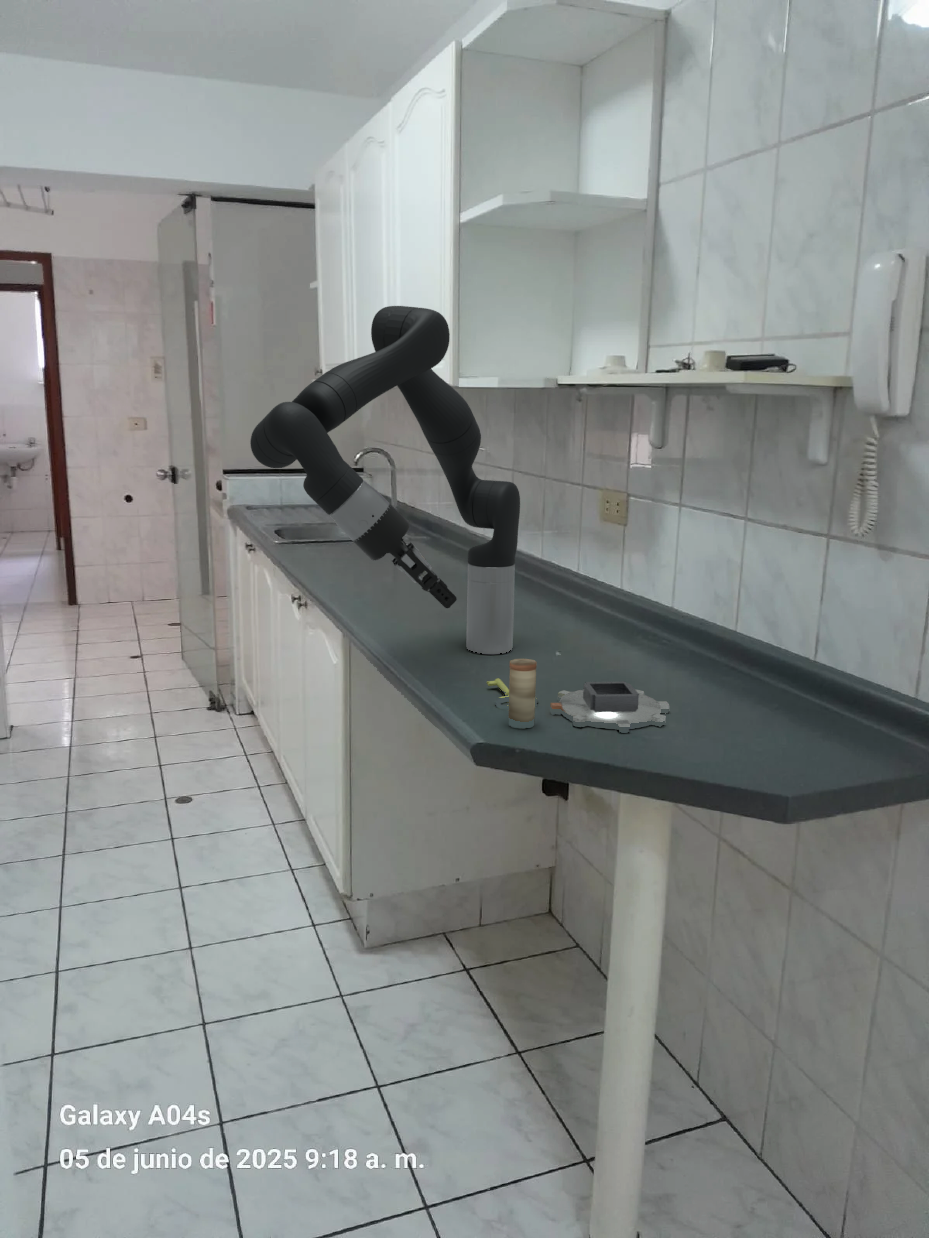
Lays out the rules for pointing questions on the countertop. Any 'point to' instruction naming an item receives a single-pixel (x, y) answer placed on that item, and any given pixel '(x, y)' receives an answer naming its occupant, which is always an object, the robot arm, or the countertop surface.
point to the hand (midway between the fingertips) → (447, 597)
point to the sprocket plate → (610, 704)
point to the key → (500, 685)
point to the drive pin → (522, 689)
